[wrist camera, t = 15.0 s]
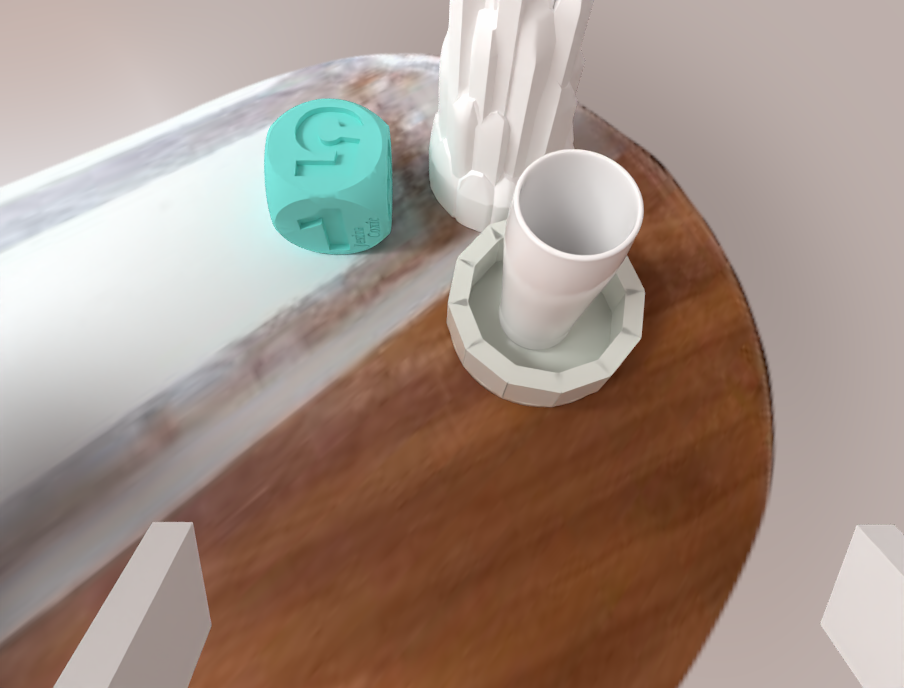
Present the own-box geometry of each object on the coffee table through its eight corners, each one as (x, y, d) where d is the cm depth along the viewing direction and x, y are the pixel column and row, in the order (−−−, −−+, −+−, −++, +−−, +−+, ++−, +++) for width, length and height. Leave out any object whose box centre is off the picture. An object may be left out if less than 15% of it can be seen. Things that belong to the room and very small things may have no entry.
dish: (434, 389, 45) (434, 370, 41) (465, 230, 49) (468, 199, 45) (617, 422, 44) (635, 406, 40) (631, 259, 49) (650, 230, 45)
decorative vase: (588, 171, 51) (720, -170, 28) (506, 259, 48) (577, -42, 25) (485, 100, 54) (527, -272, 30) (400, 179, 51) (374, -165, 27)
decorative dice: (285, 255, 48) (258, 195, 41) (293, 167, 51) (269, 95, 43) (391, 255, 48) (384, 196, 41) (393, 167, 51) (387, 96, 44)
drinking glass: (568, 374, 44) (631, 278, 30) (476, 346, 45) (496, 238, 31) (590, 291, 47) (658, 166, 33) (502, 265, 47) (532, 131, 33)
